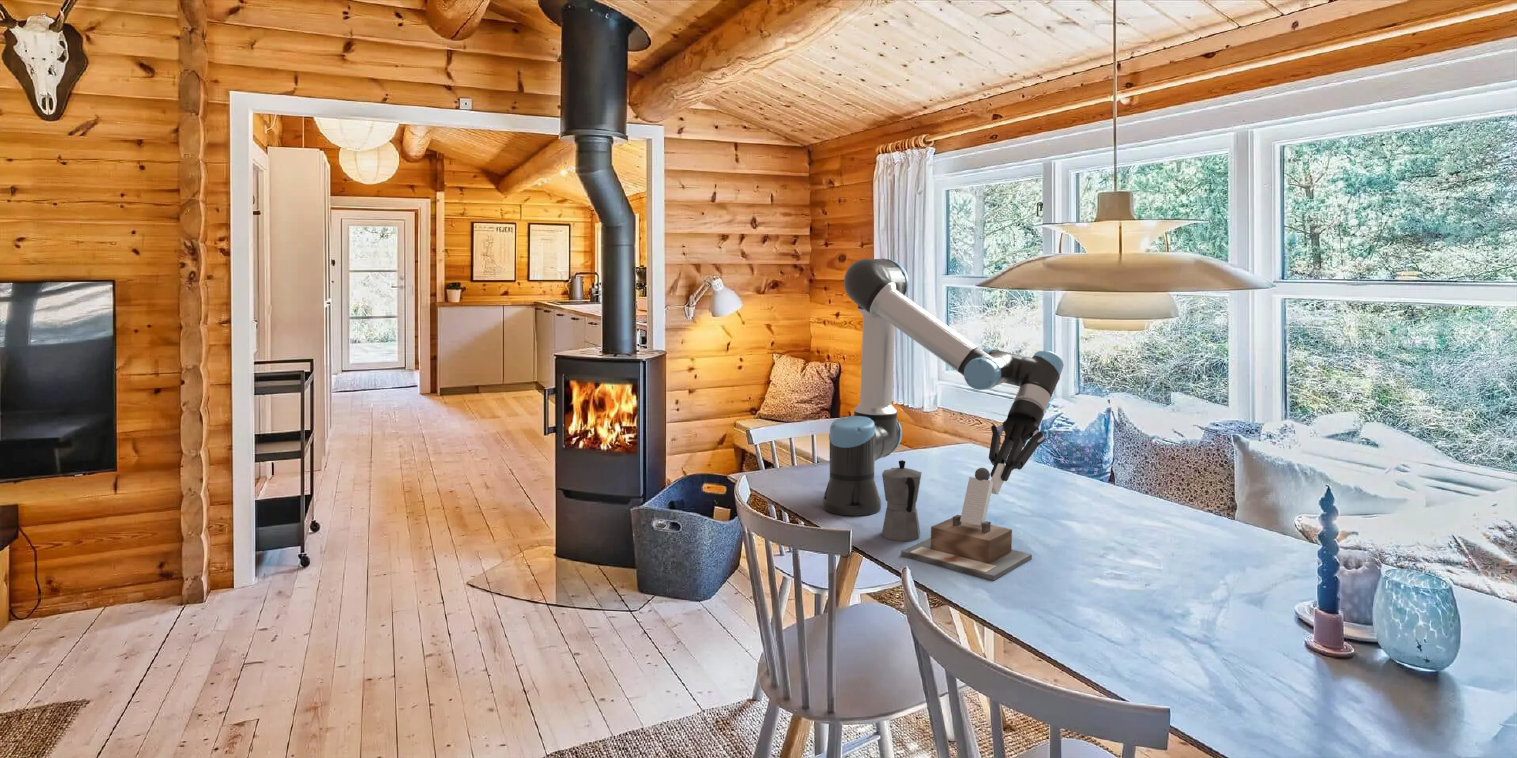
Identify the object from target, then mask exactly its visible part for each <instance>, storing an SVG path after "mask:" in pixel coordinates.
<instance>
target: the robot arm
mask: <svg viewBox="0 0 1517 758" xmlns="http://www.w3.org/2000/svg"><path fill="white" fill-rule="evenodd" d="M843 286H844V290H845V293H846V295H847V296H848V297H849V299H850V300H851V301H853V303H855V304H856V305H857V310H858V311H859V313H860V314H861V315H862V335H861V336H862V341H861V342H862V343H861V365H860V367H861V370H860V393H859V394H860V395H859V396H860V397H859V399H860V400H859V401H860V402H859V404H858V405H856V407H854V408H853V409H854V410H853V415H850V416H847V417H845V416H844V417H840V418H836V419H835V420H834V421H833V422H832V423H831V424H830V427H829V434H828V440H829V479H828V483H827V485H826V489H825V491H824V495H823V498H822V508H823V510H824V511H826V512H828V513H831V514H835V515H840V516H850V517H853V516H854V517H855V516H856V517H857V516H867V515H872V514H876V513H878V512H880V511H881V509H882V499H881V497H880V494H879V491H878V487H877V484H876V480H875V462H876V461H877V460H880V459H882V458H886V457H888V456H890V455H891V454H892V453H893V452H894V451H896V450H897V448H898V447H899V445H900V444H901V441H902V438H903V429H902V424H901V423H900V422H899V421H898V410H897V409H896V407H894V405H893V387H894V386H893V385H894V384H893V380H894V362H895V361H894V360H895V357H894V356H895V355H894V354H895V334H896V329H898V330H899V331H901V332H902V333H904V334H905V335H906V336H907V337H909V338H910V339H912V340H913V341H914V342H915V343H917V344H919V345H920V346H922V347H923V348H924V349H926V350H927V351H928V352H930V353H931V354H932V355H934V356H935V357H936V358H938V359H940V361H942V362H943V363H945V364H946V365H948V366H949V367H951V368H952V369H953V370H954V371H956V372H957V373H959V374H960V375H962V376H963V378H964V380H965V382H966V384H967V385H968V386H969V387H970V388H972V389H973V390H977V391H984V390H990V389H992V388H994V387H996V386H999V385H1001V384H1008V385H1012V386H1016V387H1019V388H1018V390H1017V392H1016V395H1015V397H1014V400H1013V402H1012V404H1011V406H1010V409H1009V411H1008V413H1007V418H1006V419H1005V420H1004V421H1003V423H1002V424H1001V425H999V426H996V424H994V425H991V427H990V429H991V432H992V435H991V441H990V446H989V453H988V459H989V462H990V463H991V465H992V466H993V467H992V469H991V471H990V472H989V473H990V478H991V480H990V481H992V482H993V487H992V491H991V495H992V494H993V495H999V493H1000V491H1001V489H1002V485H1003V484H1004V482H1007V481H1008V480H1009V478H1010V476H1011V474H1012V472H1013V470H1016V469H1017V470H1022V469H1023V467H1025V465H1026V464H1027V462H1028V460H1029V459H1030V457H1032V455H1033V454H1034V453H1035V451H1036V450H1037V449H1038V448H1039V446H1040V445H1041V444H1043V443H1044V442H1045V441H1046V437H1045V435H1044V433H1043V431H1039V430H1040V429H1039V427H1040V426H1041V423H1042V421H1043V418H1044V416H1045V413H1046V410H1047V408H1048V406H1049V404H1050V401H1051V399H1052V396H1053V393H1054V391H1055V389H1056V387H1057V385H1058V382H1059V381H1060V380H1061V375H1062V372H1063V369H1064V365H1065V364H1064V361H1063V359H1062V357H1061V356H1059V355H1058V354H1057V353H1055V352H1053V351H1050V350H1046V349H1044V350H1038V351H1035V353H1034V355H1032V357H1030V356H1023V355H1019V354H1015V353H1012V352H1008V351H1002V350H1000V349H994V348H988V347H987V348H986V347H985V348H983V349H982V348H980V347H979V346H978V345H976V344H975V343H973V342H972V341H971V340H969V339H968V338H966V337H965V336H963V335H962V334H961V333H959V332H958V331H956V330H955V329H953V328H952V327H951V326H949V325H947V324H946V323H945V322H944V321H942V320H941V319H939V318H937V316H935V315H934V314H932V313H931V312H929V311H928V310H926V309H925V308H923V307H922V306H921V305H919V304H918V303H917V302H915V301H913V300H912V299H911V298H909V297H907V296H906V294H907V292H908V290H909V286H910V279H909V275H908V273H907V271H906V269H905V268H904V266H903V265H902V264H900V262H897V261H896V260H892V259H888V258H862V259H859V260H857V261H855V262H854V263H852V264H851V265H850V266H849V267H848V268H847V270H846V272H845V275H844V278H843ZM1003 432H1004V433H1005V434H1004V439H1003V440H1002V441H1003V442H1002V444H1001V439H1002V438H1001V437H1002V436H1003ZM1000 445H1001V446H1000Z"/></svg>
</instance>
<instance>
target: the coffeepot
mask: <svg viewBox="0 0 1517 758" xmlns="http://www.w3.org/2000/svg"><path fill="white" fill-rule="evenodd" d="M898 466H899V467H891V468H890V469H884V470H883V471H882V473H881V476H882V483H883V491H884V497H885V501H886V510H885V515H884V520H883V526H882V529H881V530H882V532H881V536H883V537H884V538H885V539H888V540H891V541H894V542H911V541H915V540H918V539H919V538H920V536H921V529H920V528H921V527H920V522H919V515H918V509H917V501H918V497H919V492H920V485H921V478H922V471H918V470H915V469H913V468H907V467H905V466H906V460H903V459H901V460H899V461H898Z"/></svg>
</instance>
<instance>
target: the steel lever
mask: <svg viewBox="0 0 1517 758" xmlns="http://www.w3.org/2000/svg"><path fill="white" fill-rule="evenodd" d="M990 473H991V472H990V471H989V470H988V469H987V468H986V467H979V468H977V469H976V470H975V473H974V477H972V476H969V478H968V482H967V485H966V487H967V488H966V491H965V496H964V501H963V505H962V510H961V518H960V522H964V523H968V524H972V525H977V526H981V527H982V523H983V522H985V521H987V520H986V518H987V514H988V510H989V504H990V500H991V495H992V493H991V491H992V487H993V482H992V481H991V480H989V479H990V478H991V475H990Z"/></svg>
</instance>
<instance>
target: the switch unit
mask: <svg viewBox="0 0 1517 758" xmlns="http://www.w3.org/2000/svg"><path fill="white" fill-rule="evenodd" d="M960 518H961V515H959V514H956V515H954V516H952V517H951V518H949V519H946V520H944V521H941V522H939V523H937V524H935V525H933V526H930V538H927V539H925V540H923V541H921V542H918V543H917V544H914V545H912V546H909V547H907V548H905V549H902V550H901V551H900V556H902V557H906V558H909V559H913V560H916V561H920V562H922V563H923V562H924V563H928V564H932V565H935V566H938V567H943V568H945V569H951V570H953V569H954V571H956V570H957V572H961V573H964V574H967V573H968V575H972V576H975V577H979V578H983V579H986V580H989V581H993V580H994V581H996V580H997V579H999V578H1001V577H1003V576H1004V575H1006V574H1008V573H1010V572H1012V571H1013V570H1014V569H1016V568H1018V567H1020V566H1022V565H1023V564H1025V563H1027V562H1029V561H1030V560H1032V559H1033V558H1032V557H1033V554H1032V553H1029V552H1025V551H1021V550H1020V551H1019V550H1017V549H1013V548H1012V545H1013V543H1012V542H1013V541H1012V539H1013V529H1011V528H1007V527H1003V526H999V525H998V526H997V525H993V524H991V523H992V522H991V521H989V520H985V522H983V523H982V527H981V526H977V525H972V524H968V523H964V522H960Z"/></svg>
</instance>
